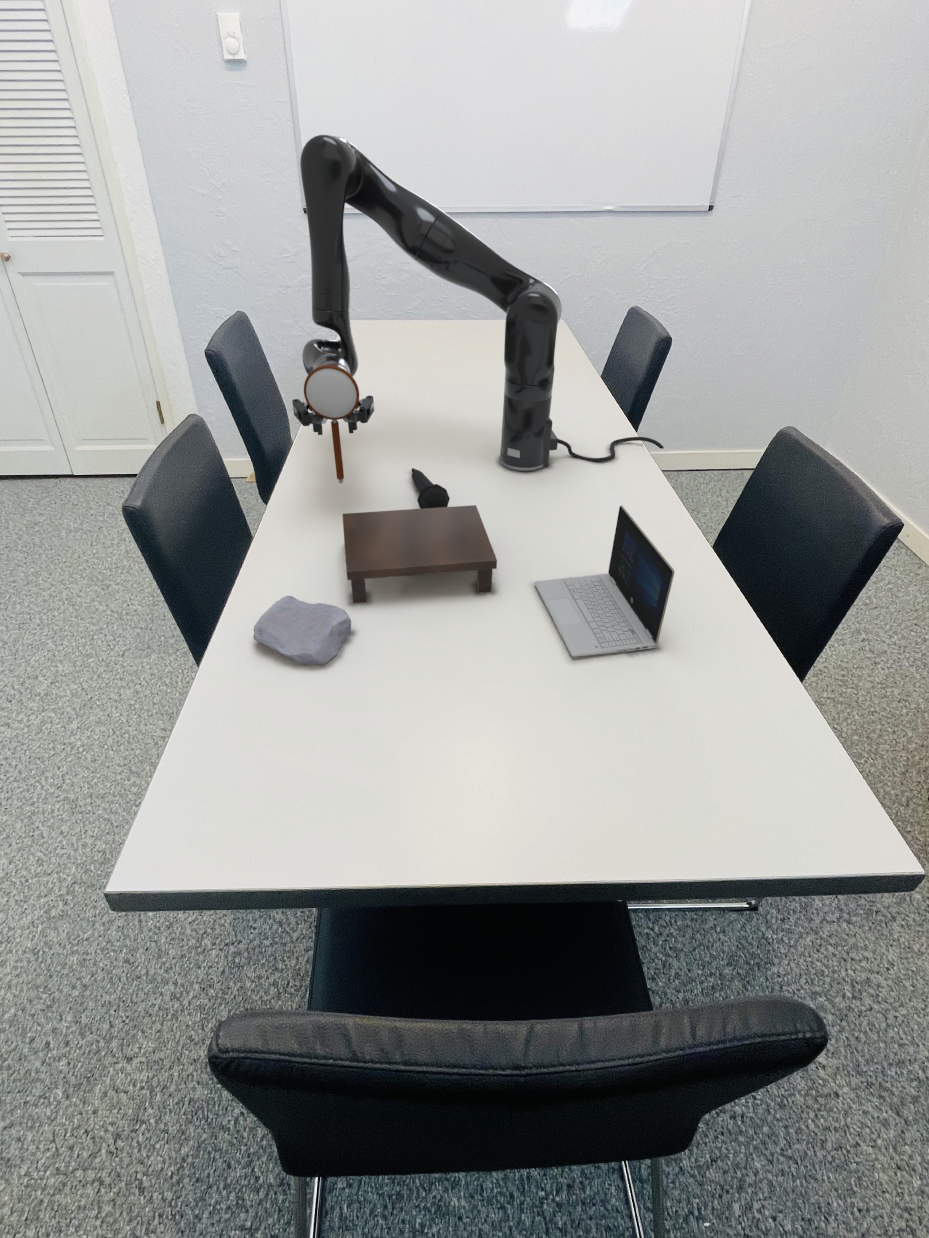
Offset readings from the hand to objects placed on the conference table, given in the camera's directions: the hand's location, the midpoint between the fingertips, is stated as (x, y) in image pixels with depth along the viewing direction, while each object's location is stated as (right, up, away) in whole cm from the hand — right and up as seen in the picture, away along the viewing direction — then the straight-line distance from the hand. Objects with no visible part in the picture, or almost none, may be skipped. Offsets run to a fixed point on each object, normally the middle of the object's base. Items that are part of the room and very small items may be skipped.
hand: (335, 428), depth 112 cm
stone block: (-2, -33, -13) cm, 36 cm away
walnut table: (+13, -22, +2) cm, 25 cm away
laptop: (+39, -30, -7) cm, 50 cm away
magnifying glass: (-1, -7, +9) cm, 12 cm away
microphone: (+14, -7, +21) cm, 26 cm away
